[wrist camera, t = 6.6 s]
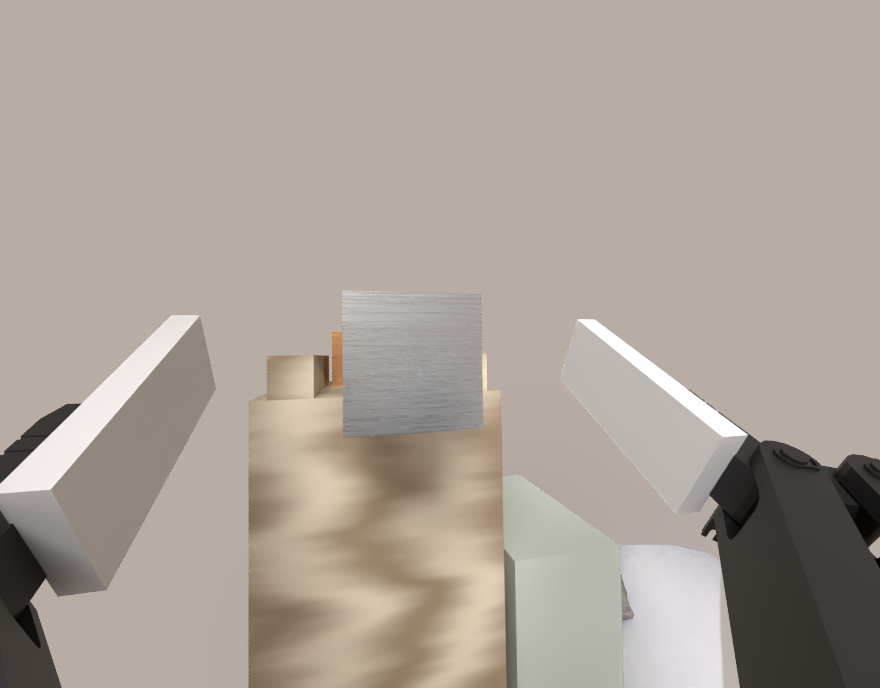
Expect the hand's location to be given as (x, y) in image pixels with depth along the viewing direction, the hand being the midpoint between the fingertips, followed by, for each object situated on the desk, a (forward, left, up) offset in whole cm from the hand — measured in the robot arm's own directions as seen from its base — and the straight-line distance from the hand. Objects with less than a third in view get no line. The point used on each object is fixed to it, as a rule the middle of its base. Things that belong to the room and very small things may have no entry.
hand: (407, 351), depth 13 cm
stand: (0, +11, -32) cm, 34 cm away
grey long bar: (0, +7, -2) cm, 7 cm away
